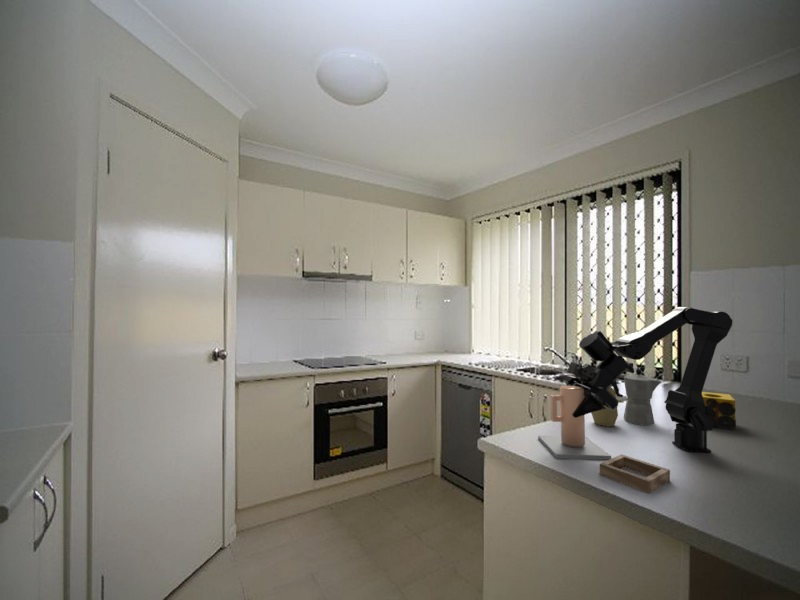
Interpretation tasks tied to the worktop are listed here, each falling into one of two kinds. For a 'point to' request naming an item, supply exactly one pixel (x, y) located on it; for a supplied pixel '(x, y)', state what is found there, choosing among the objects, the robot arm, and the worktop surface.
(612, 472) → the collar
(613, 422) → the squeeze bottle
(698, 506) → the worktop surface
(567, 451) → the pad
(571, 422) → the tan piece
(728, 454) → the worktop surface
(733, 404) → the yellow spotted cube
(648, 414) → the coffeepot
